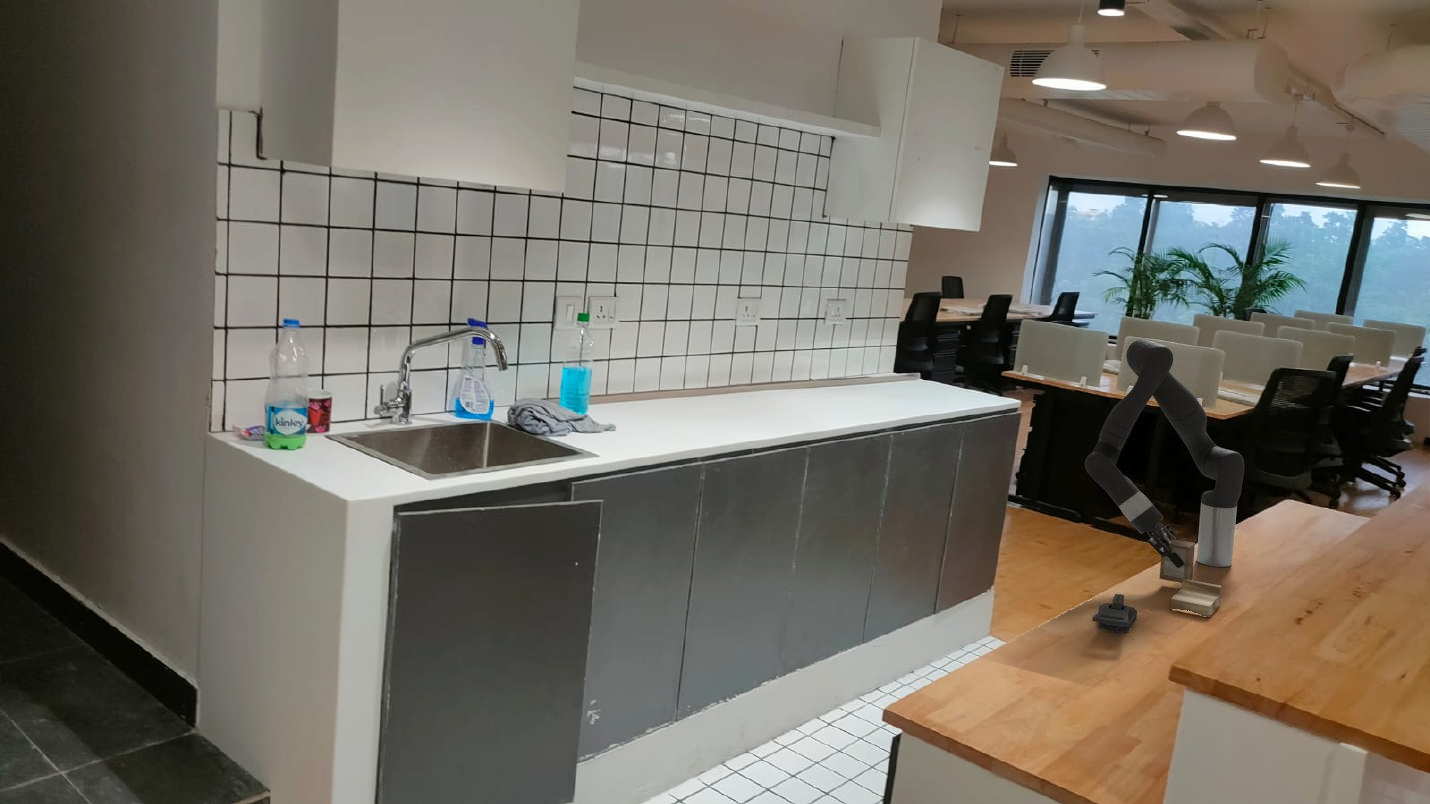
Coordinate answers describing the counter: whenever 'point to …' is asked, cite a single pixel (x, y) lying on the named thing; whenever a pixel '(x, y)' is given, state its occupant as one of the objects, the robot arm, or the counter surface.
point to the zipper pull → (1116, 616)
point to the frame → (1187, 555)
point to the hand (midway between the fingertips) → (1184, 563)
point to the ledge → (1197, 597)
